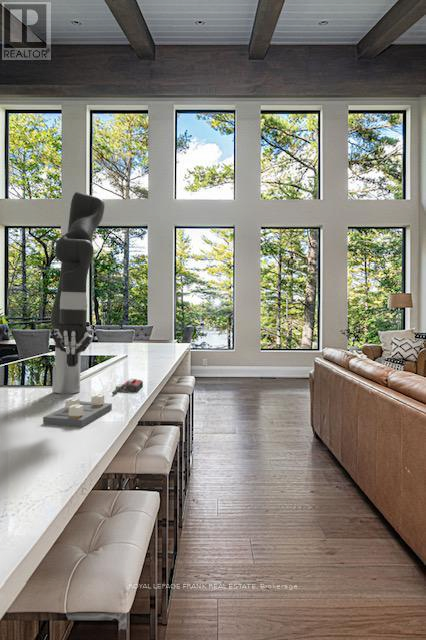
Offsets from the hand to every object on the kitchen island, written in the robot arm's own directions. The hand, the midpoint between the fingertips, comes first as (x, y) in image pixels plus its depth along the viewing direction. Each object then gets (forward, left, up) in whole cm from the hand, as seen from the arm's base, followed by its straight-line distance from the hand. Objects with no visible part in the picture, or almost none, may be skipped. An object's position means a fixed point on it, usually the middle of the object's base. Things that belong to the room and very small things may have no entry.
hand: (72, 366), depth 124 cm
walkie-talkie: (0, +43, -17) cm, 46 cm away
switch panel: (0, +4, -16) cm, 17 cm away
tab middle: (-2, +4, -13) cm, 14 cm away
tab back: (+3, +11, -13) cm, 18 cm away
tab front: (+3, -3, -14) cm, 14 cm away
